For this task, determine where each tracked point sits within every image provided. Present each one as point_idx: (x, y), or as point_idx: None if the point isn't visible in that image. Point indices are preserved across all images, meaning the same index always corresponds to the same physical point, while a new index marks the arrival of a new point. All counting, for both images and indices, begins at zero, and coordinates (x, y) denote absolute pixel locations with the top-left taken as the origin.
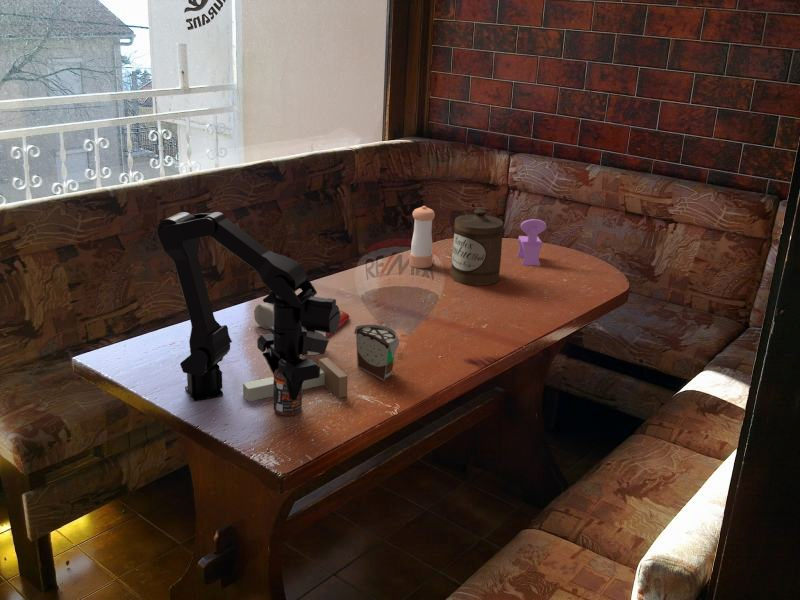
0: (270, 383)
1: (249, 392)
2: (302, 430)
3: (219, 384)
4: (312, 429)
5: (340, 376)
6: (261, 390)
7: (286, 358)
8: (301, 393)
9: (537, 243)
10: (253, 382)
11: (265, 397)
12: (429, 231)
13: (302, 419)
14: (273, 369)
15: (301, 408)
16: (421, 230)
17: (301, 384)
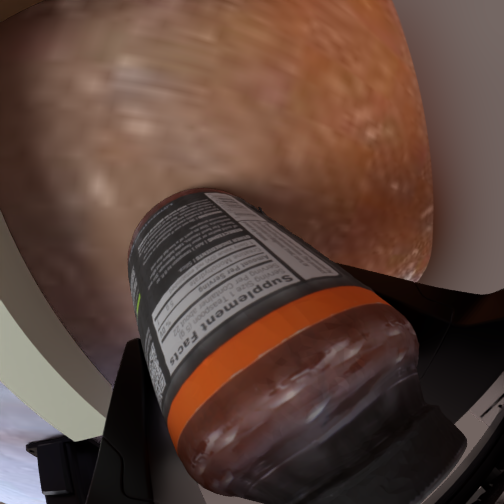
0: (51, 374)
1: None
2: (351, 206)
3: (72, 460)
4: (358, 171)
5: None
6: (86, 384)
7: (481, 491)
8: (283, 229)
9: None
10: (59, 421)
11: (74, 342)
12: None
13: (289, 194)
14: (200, 491)
15: (220, 190)
16: None
17: (433, 291)
